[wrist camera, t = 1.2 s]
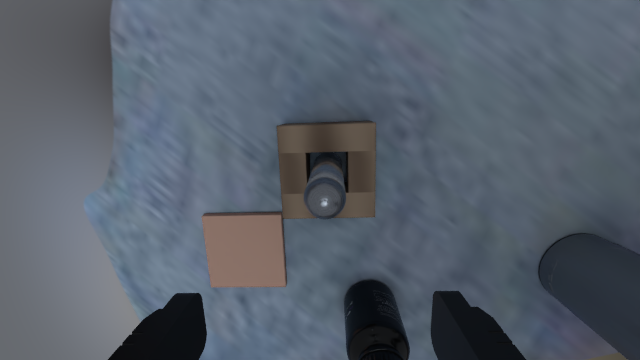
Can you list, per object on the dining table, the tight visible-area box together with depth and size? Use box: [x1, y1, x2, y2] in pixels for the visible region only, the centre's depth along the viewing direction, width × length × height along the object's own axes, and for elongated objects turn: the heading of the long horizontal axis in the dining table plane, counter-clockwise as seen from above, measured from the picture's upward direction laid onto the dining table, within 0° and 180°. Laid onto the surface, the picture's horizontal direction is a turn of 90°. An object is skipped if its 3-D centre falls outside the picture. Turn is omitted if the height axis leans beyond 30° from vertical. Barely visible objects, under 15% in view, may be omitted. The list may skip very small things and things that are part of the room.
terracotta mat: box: [202, 212, 287, 287], centre depth 38 cm, size 10×10×1 cm
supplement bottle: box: [344, 281, 410, 360], centre depth 34 cm, size 7×7×12 cm
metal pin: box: [304, 152, 346, 219], centre depth 28 cm, size 3×3×16 cm
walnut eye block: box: [277, 121, 376, 219], centre depth 33 cm, size 10×10×5 cm
